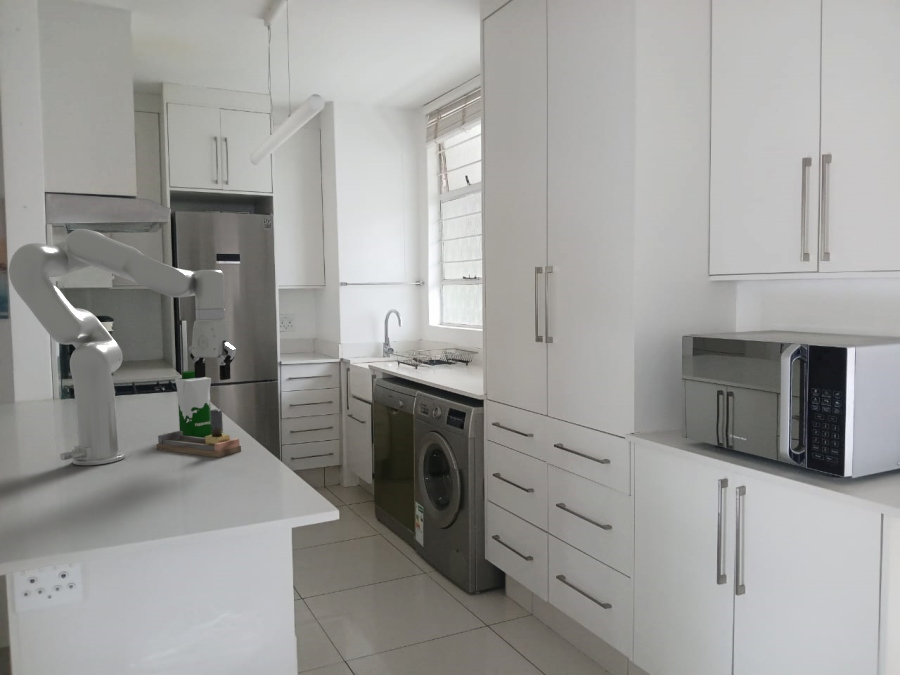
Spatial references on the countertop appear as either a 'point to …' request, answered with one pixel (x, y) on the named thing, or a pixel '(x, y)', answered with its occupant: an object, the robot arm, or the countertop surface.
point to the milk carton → (194, 405)
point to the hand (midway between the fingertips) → (212, 378)
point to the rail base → (196, 445)
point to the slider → (216, 428)
